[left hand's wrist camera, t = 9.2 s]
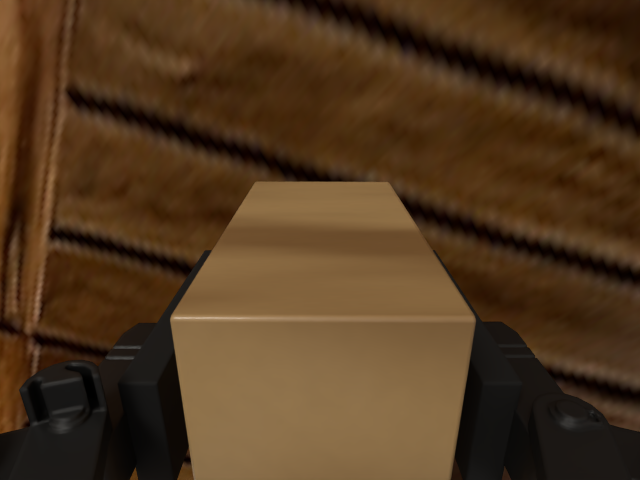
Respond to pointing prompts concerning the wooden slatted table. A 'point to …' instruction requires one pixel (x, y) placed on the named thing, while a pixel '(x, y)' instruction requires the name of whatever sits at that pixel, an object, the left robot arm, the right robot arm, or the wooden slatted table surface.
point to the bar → (322, 342)
